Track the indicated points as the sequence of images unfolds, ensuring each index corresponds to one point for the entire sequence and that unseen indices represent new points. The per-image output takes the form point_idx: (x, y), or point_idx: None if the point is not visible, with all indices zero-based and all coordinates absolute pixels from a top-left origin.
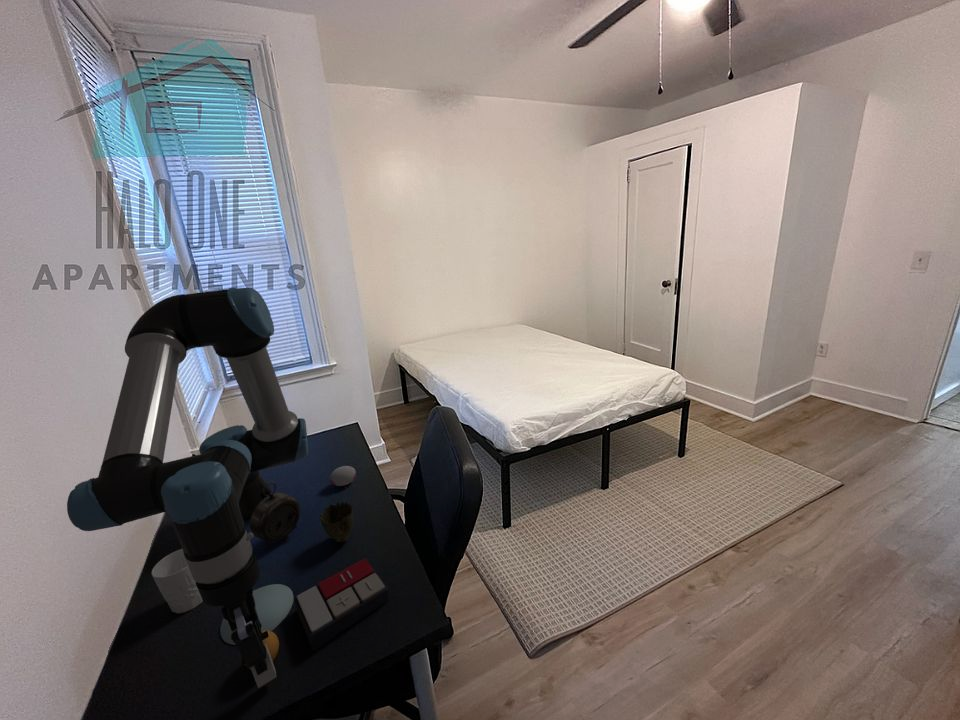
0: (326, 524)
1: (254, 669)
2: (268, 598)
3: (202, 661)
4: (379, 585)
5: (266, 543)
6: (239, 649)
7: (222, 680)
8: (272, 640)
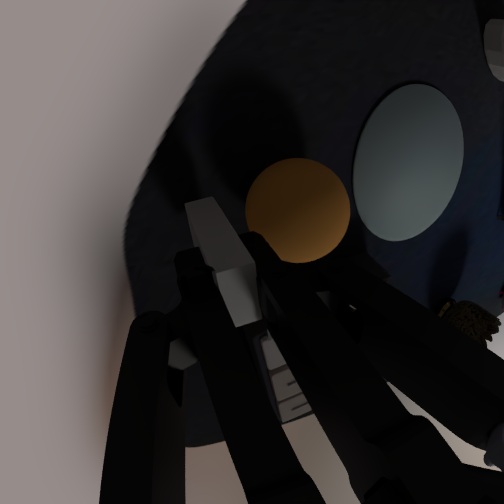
0: (476, 333)
1: (199, 246)
2: (432, 188)
3: (370, 39)
4: (291, 416)
5: None
6: (101, 499)
7: (286, 83)
8: (294, 262)
